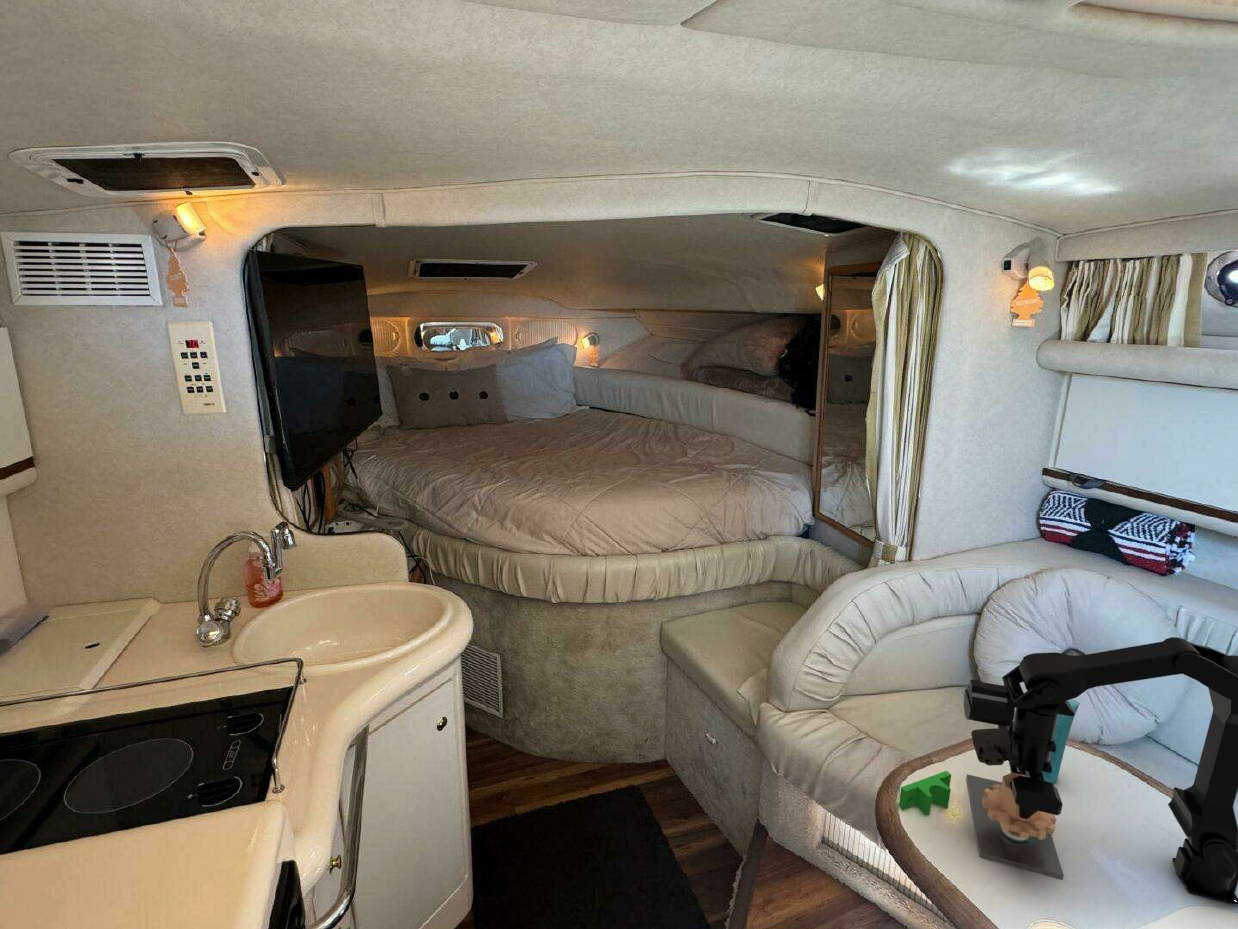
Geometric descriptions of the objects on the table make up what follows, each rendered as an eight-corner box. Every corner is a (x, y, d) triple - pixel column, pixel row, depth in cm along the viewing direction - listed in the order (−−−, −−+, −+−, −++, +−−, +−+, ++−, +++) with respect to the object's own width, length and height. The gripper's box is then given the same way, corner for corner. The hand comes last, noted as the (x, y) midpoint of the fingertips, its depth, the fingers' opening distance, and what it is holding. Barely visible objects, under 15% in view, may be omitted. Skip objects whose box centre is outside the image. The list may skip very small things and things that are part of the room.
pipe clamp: (913, 822, 114) (916, 802, 113) (898, 807, 118) (900, 787, 116) (960, 803, 118) (963, 783, 117) (943, 789, 121) (946, 770, 120)
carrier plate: (1036, 795, 119) (1043, 764, 117) (1062, 880, 102) (1070, 845, 100) (966, 778, 124) (970, 748, 122) (979, 857, 107) (985, 823, 105)
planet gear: (1046, 799, 112) (1052, 771, 110) (1062, 848, 102) (1068, 818, 100) (978, 783, 116) (982, 756, 114) (987, 828, 106) (991, 800, 104)
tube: (1068, 781, 122) (1086, 697, 117) (1056, 792, 120) (1073, 707, 114) (1028, 758, 128) (1043, 677, 123) (1015, 768, 126) (1030, 686, 120)
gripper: (971, 686, 115) (961, 756, 119) (986, 754, 99) (974, 833, 103) (1042, 699, 111) (1028, 771, 115) (1070, 772, 95) (1053, 854, 99)
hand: (1019, 804), depth 108 cm, fingers closed on planet gear, 6 cm apart
